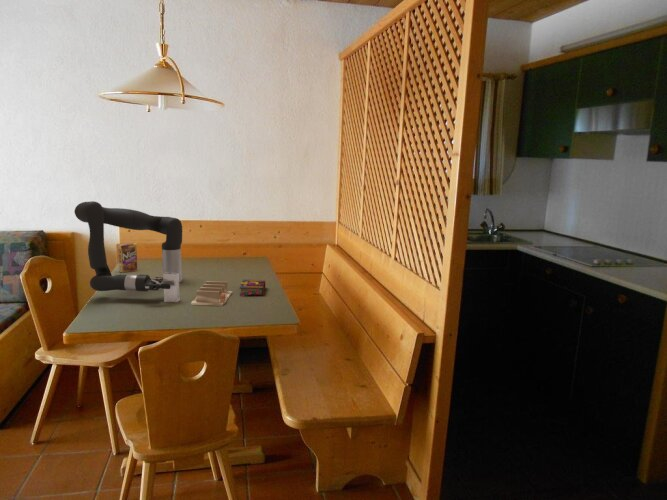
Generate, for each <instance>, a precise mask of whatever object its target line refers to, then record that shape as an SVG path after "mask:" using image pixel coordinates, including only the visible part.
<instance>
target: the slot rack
mask: <svg viewBox="0 0 667 500" xmlns="http://www.w3.org/2000/svg"><path fill="white" fill-rule="evenodd" d="M228 290H229V289H228V281H214V280H212V281H211V280H206V281H205V283H203V284H202V286H201V287H199V290H195V296H196V297H195V298H194V299H192V301H191V302H190V305H192V306H215V307H216V306H217V307H218V306H219V307H223V306H224V305H225V303H226V302H227V301H228V299H230V298H231V296H232V294H233V291H231V290H229V291H228Z"/></svg>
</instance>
